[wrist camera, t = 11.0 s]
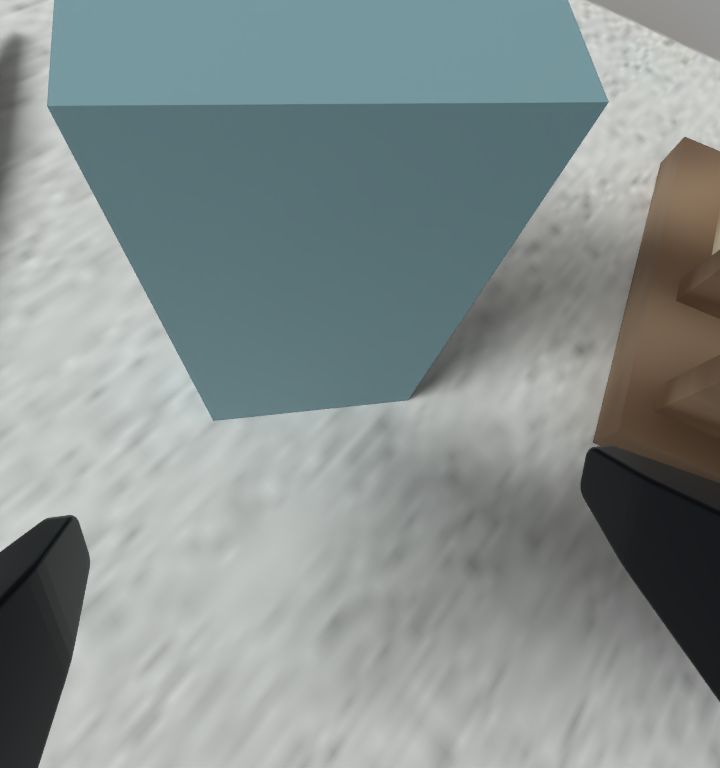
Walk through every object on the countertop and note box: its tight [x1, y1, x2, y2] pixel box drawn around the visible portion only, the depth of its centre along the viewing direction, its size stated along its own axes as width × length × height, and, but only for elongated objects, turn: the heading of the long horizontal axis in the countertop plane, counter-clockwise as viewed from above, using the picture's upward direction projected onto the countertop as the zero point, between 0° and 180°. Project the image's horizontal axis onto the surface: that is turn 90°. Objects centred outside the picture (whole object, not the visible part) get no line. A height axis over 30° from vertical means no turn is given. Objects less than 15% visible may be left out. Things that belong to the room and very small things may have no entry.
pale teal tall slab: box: [47, 0, 608, 421], centre depth 12 cm, size 3×6×12 cm, turn 98°
